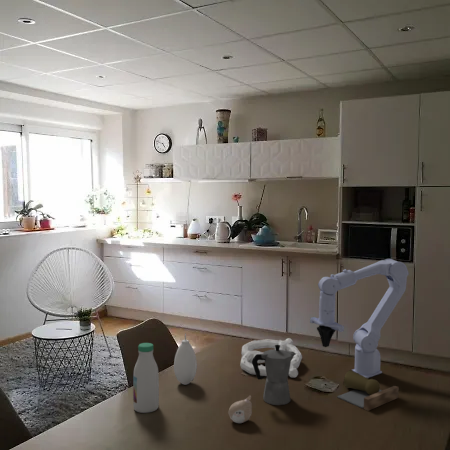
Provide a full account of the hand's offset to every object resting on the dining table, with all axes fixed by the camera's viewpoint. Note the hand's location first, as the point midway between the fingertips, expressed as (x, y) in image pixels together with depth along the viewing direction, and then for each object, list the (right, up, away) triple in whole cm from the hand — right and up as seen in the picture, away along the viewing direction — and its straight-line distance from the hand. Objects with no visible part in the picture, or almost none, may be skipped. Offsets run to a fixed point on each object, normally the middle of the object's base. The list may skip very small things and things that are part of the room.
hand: (325, 346), depth 176 cm
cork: (+6, -8, -12) cm, 15 cm away
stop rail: (+13, -12, -24) cm, 30 cm away
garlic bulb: (-33, -13, -37) cm, 51 cm away
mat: (+9, -12, -19) cm, 24 cm away
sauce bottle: (-51, -11, -9) cm, 53 cm away
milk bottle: (-62, -12, -28) cm, 69 cm away
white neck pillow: (-19, -10, +10) cm, 24 cm away
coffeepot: (-21, -12, -22) cm, 33 cm away
